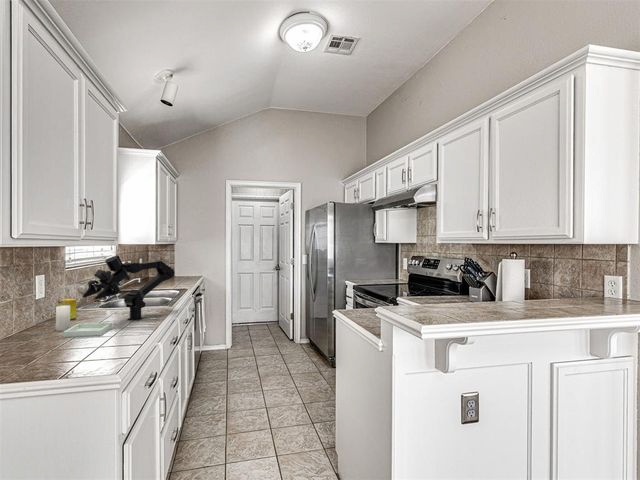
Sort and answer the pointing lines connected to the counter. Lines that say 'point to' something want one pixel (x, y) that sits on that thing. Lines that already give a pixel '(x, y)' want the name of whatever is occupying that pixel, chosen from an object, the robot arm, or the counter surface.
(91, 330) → the tray
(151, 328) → the counter surface
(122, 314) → the counter surface
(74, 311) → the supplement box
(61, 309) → the canister
